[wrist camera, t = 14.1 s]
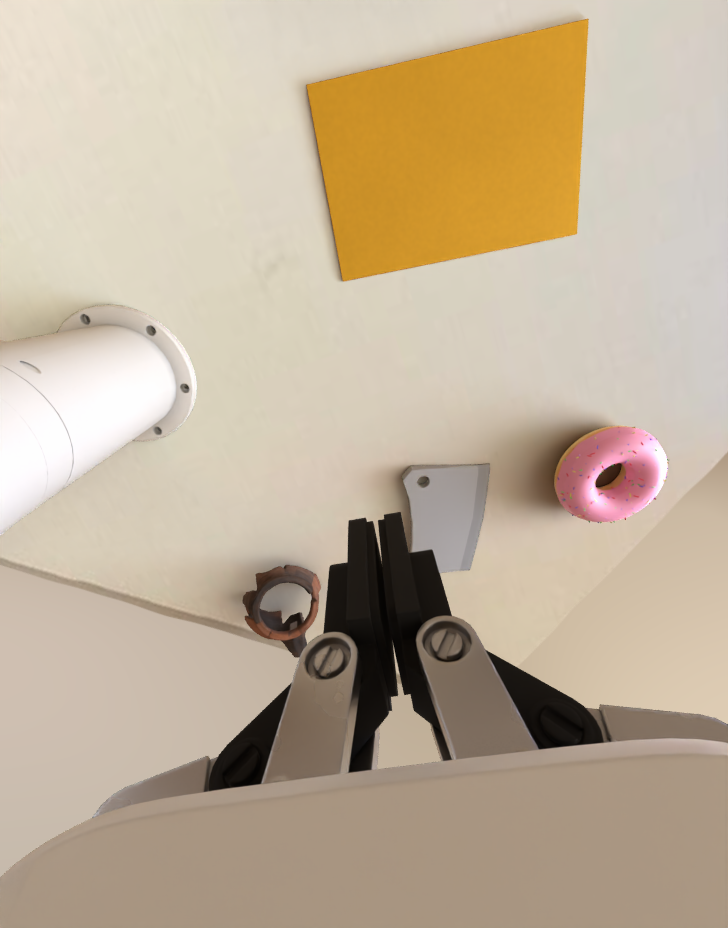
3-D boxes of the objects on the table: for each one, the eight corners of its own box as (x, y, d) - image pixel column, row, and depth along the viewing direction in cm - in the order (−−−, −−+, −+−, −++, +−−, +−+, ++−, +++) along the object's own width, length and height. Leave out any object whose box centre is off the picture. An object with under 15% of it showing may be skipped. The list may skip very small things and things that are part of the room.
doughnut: (613, 398, 38) (641, 411, 34) (668, 462, 42) (700, 480, 38) (527, 471, 42) (544, 490, 38) (584, 526, 45) (605, 548, 41)
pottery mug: (227, 576, 48) (226, 599, 40) (294, 538, 50) (306, 552, 43) (272, 654, 50) (279, 690, 42) (334, 613, 52) (352, 639, 45)
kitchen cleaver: (459, 629, 51) (385, 631, 50) (457, 623, 52) (384, 625, 51) (497, 465, 41) (405, 464, 40) (493, 461, 42) (403, 459, 41)
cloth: (342, 281, 33) (342, 281, 33) (306, 85, 28) (306, 84, 27) (575, 234, 32) (577, 233, 32) (587, 20, 26) (588, 18, 26)
